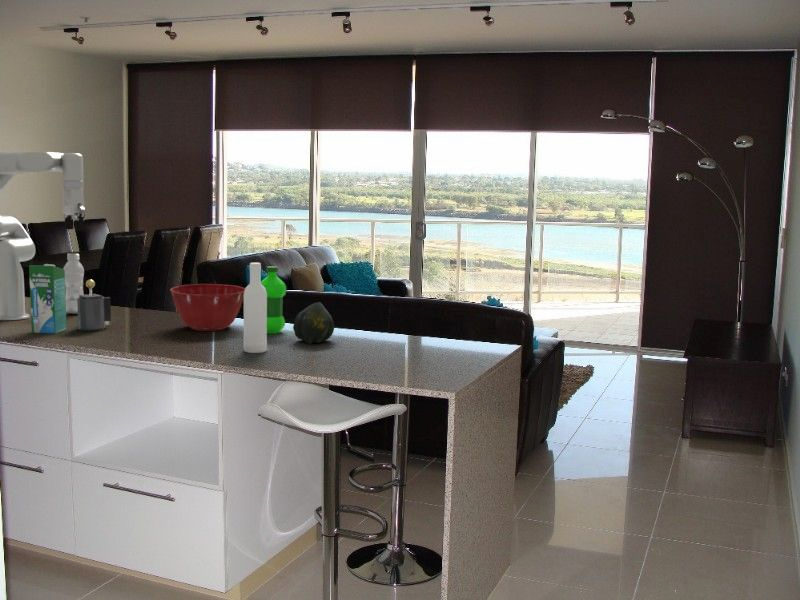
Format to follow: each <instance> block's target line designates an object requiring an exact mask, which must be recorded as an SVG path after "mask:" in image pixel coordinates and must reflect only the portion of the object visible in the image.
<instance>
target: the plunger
mask: <svg viewBox="0 0 800 600" xmlns="http://www.w3.org/2000/svg"><path fill="white" fill-rule="evenodd" d="M85 286H86V287H87V288H88V290H89V292H88V293H89V296H92V294H93V288H94V287H95V286H96V282H95V281H94V280H93V279H88V280H86V282H85Z"/></svg>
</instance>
